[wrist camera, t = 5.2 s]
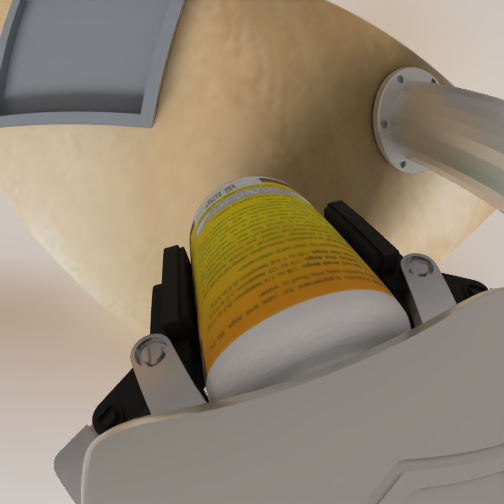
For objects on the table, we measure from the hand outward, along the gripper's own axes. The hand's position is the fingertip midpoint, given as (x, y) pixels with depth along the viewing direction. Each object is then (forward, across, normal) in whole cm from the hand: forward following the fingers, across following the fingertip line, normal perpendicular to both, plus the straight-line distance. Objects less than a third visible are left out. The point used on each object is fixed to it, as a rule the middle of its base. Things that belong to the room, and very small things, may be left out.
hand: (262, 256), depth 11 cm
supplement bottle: (+2, 0, 0) cm, 2 cm away
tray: (+15, +9, -14) cm, 22 cm away
